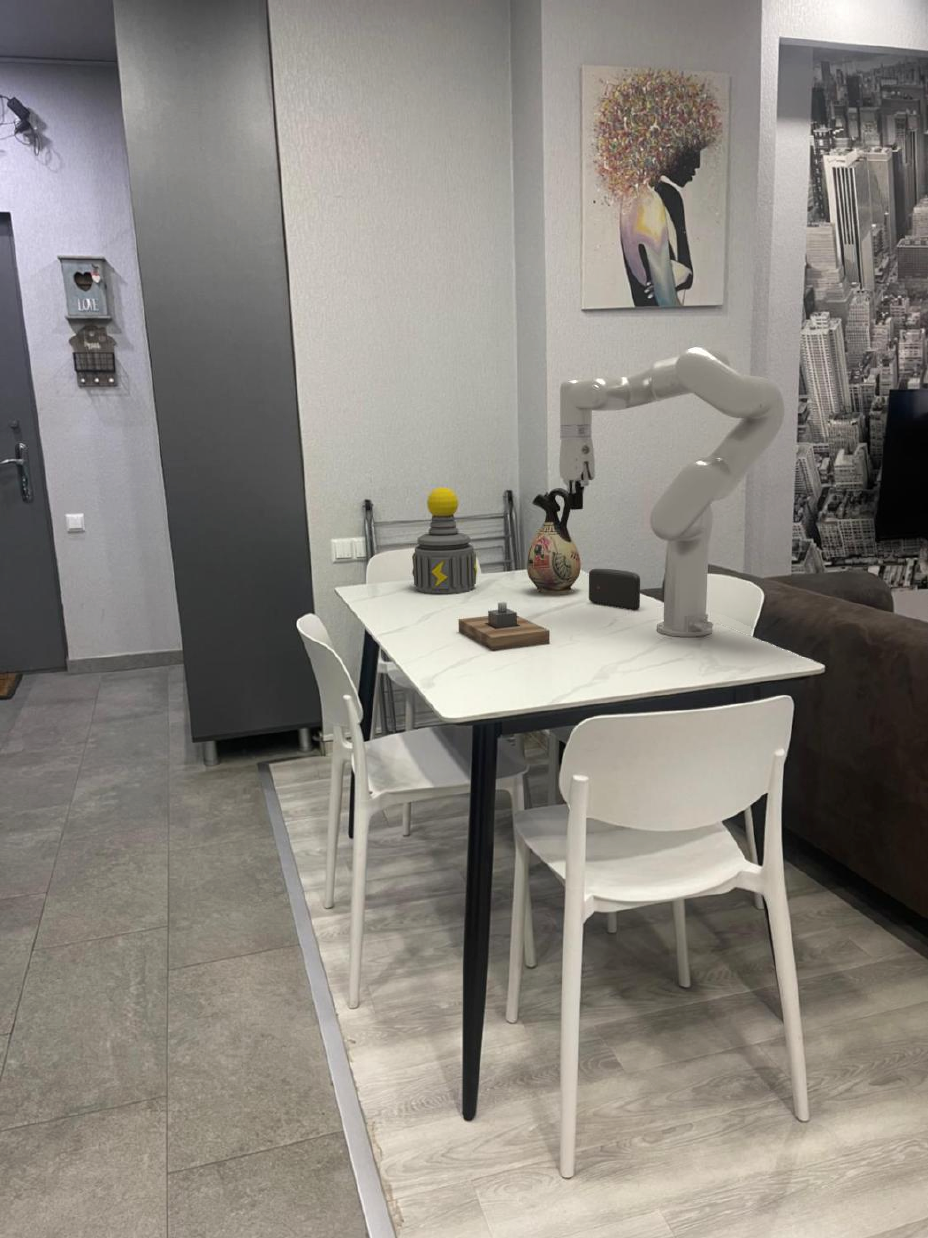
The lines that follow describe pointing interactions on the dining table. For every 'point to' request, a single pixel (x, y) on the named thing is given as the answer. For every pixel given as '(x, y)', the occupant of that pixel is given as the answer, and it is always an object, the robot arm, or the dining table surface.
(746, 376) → the robot arm
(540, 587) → the ceramic jug
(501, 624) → the plug
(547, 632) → the socket board
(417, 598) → the dining table surface
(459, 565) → the decorative lamp
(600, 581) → the rounded red-dot block
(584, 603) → the dining table surface
